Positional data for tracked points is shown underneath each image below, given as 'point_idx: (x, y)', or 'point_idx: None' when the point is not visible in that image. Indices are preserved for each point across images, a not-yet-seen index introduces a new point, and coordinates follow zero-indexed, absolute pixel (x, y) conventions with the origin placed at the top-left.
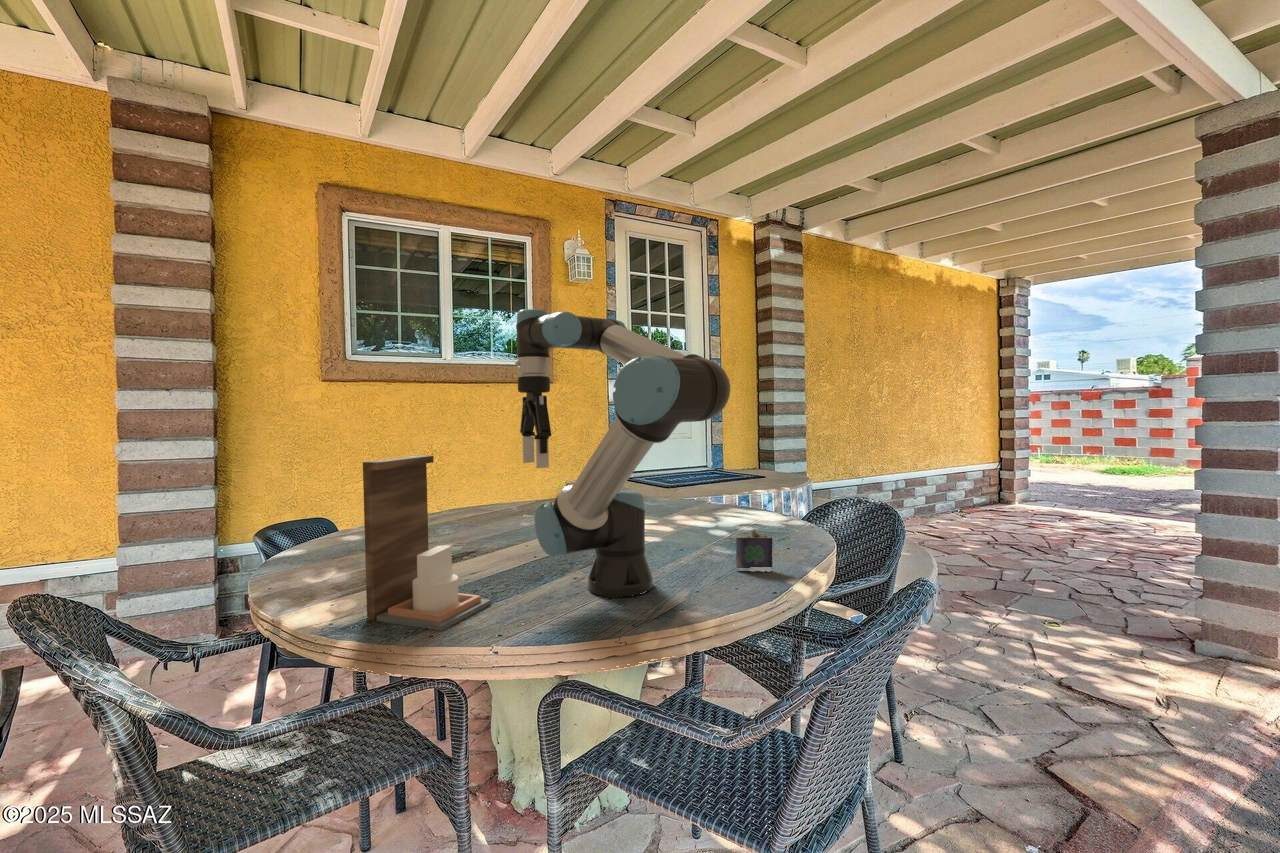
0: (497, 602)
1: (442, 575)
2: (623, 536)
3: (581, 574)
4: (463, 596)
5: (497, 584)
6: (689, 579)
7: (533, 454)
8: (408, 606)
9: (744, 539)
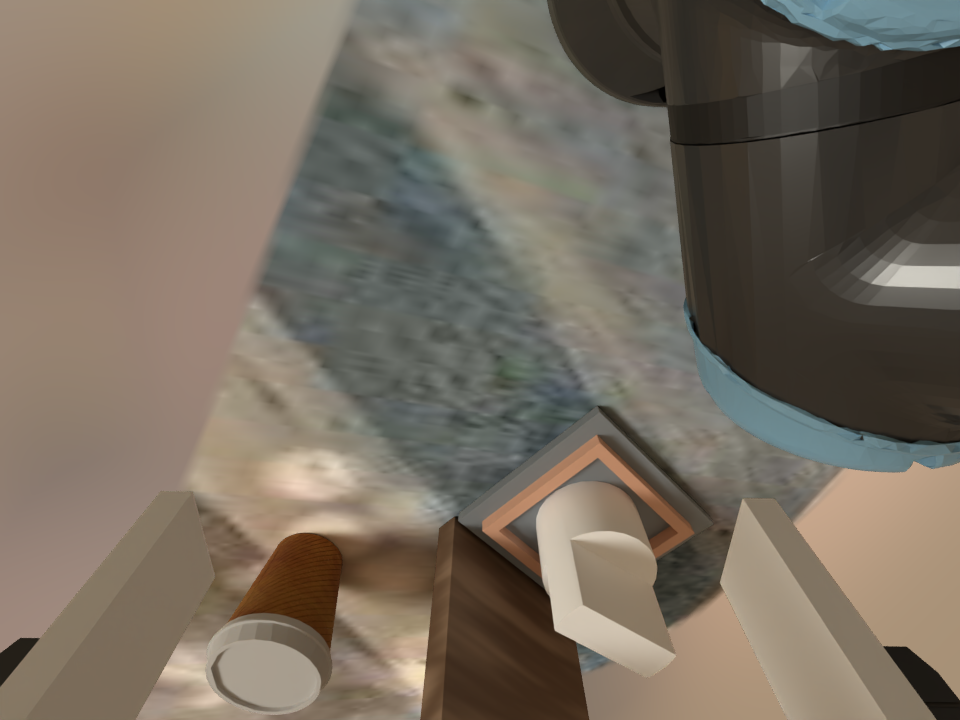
0: (589, 388)
1: (611, 569)
2: None
3: (427, 54)
4: (571, 474)
5: (423, 359)
6: None
7: (147, 563)
8: None
9: None
